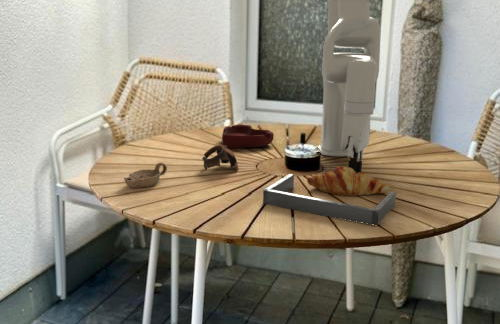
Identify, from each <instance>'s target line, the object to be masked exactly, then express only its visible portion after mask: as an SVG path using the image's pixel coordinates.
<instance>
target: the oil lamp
mask: <svg viewBox="0 0 500 324" xmlns="http://www.w3.org/2000/svg"><path fill="white" fill-rule="evenodd" d="M161 166H162V171H160V167H161ZM167 170H168V167H167V165H166V163H164V162H158V163H157V164H155V166H154V169H139V170H136V171H134V172H133V173H129V174H128V177H124V178H123V180H124V182H125V184H126V185H127V186H128V187H129V188H134V189H139V188H140V189H142V188H149V187H152V186H155V185H156V184H157V183H158V182H159V180H160V177H161V176H164V175H165V174H166V173H167Z"/></svg>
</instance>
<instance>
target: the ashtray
mask: <svg viewBox="0 0 500 324" xmlns="http://www.w3.org/2000/svg"><path fill="white" fill-rule="evenodd" d="M221 141H222V144H221V145H225V146H227V147H228V149H229V150H230V149H231V150H232V149H241V148H242V149H246V148H268V147H269V145H270V144H271V143H272V142H273V141H274V132H273V131H271V130H269V129H255V128H253V127H252V125H249V124H242V123H238V124H234V125H231V126H230V125H229V126H225V127H223V130H222V135H221Z"/></svg>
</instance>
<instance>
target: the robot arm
mask: <svg viewBox="0 0 500 324" xmlns="http://www.w3.org/2000/svg"><path fill="white" fill-rule="evenodd" d="M327 2H328V3H327V4H328V12H327V13H328V15H327V35H326V37H325V40H324V43H323V49H322V61H321V62H322V63H321V72H322V84H323V97H322V120H321V122H322V123H321V137H320V139H321V141H320V142H321V143H320V144H318V145H317V146H316V147H318V148H319V149H320V151H321V154H320V155H324V156H327V157H346V158H348V166H347V167H348V168H352V169H353V170H354V171H355V172H356V173H358V172H361V173H362V170H363V169H362V168H363V167H362V166H363V156H364V149H366V148H367V147H368V145H369V143H370V137H371V136H370V135H371V116H372V115H374V109H375V108H374V107H375V97H376V96H375V94H376V82H377V80H378V78H379V75H380V73H379V72H380V60H381V59H380V58H381V57H380V56H381V26H380V23H379V21H378V20H377V19H376V18H375V17H371V16H370V0H327ZM334 48H337V49H360V50H361V49H362V50H363V52H360V53H359V52H335V51H334V50H335V49H334Z"/></svg>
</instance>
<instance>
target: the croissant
mask: <svg viewBox="0 0 500 324" xmlns="http://www.w3.org/2000/svg"><path fill="white" fill-rule="evenodd" d="M306 181H307V183H308V185H309V186H311V187H313V188H315V189H318V190H319V191H321V192H323V193H325V192H326V194H327V193H329V194H333V195H336V194H337V196H347V195H348V196H349V197H358V196H357V195H359V196H364V194H365V196H369V195H375V194H377V195H378V194H380V195H381V194H384V193H387V192H389V190H390V188H391V187H390V185H389V184H386V183H385V182H383V180H381V178H374V176H371V175H370V174H368V172H362V171H361V172H358V173H356V172H355V171H354V170H353V169H352V168H348V166H338V165H337V166H336V167H335V168H334V169H333V171H332V170H328V171H325V173H324V174H315V175H313V176H311V177H310V176H309V177H308V176H307V178H306Z"/></svg>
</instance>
